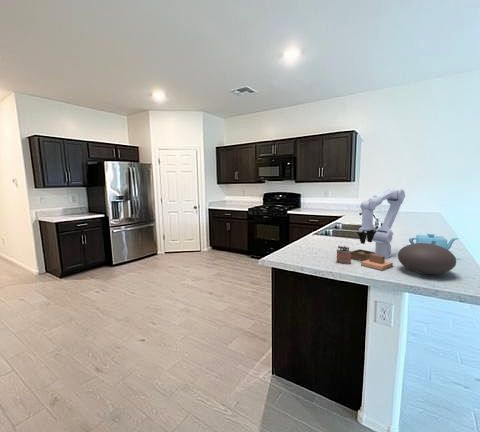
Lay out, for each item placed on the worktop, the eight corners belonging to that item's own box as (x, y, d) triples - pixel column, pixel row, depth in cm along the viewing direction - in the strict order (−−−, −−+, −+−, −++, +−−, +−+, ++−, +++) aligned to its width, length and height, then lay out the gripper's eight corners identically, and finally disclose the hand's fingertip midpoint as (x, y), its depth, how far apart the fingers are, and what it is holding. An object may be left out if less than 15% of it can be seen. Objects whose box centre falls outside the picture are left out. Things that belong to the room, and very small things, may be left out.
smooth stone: (390, 272, 136) (391, 244, 135) (404, 262, 154) (405, 237, 152) (451, 284, 119) (453, 252, 117) (458, 271, 136) (460, 243, 135)
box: (359, 256, 169) (359, 249, 169) (374, 259, 161) (374, 252, 161) (350, 258, 164) (350, 251, 163) (365, 262, 155) (365, 254, 155)
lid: (372, 261, 156) (372, 251, 155) (392, 265, 146) (393, 255, 146) (361, 264, 149) (361, 254, 149) (381, 270, 140) (382, 259, 139)
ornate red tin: (351, 263, 154) (351, 246, 153) (350, 264, 152) (350, 247, 150) (336, 261, 159) (337, 245, 157) (335, 262, 156) (336, 246, 155)
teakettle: (405, 255, 169) (406, 232, 168) (427, 252, 175) (428, 230, 173) (434, 263, 151) (436, 238, 150) (458, 259, 157) (459, 235, 155)
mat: (372, 261, 156) (372, 261, 156) (393, 266, 146) (393, 266, 146) (360, 265, 149) (360, 264, 149) (382, 271, 139) (382, 270, 139)
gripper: (367, 219, 166) (366, 240, 167) (354, 220, 158) (353, 243, 159) (378, 220, 160) (377, 242, 161) (365, 221, 152) (364, 245, 153)
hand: (366, 242), depth 160 cm, fingers open, 7 cm apart
